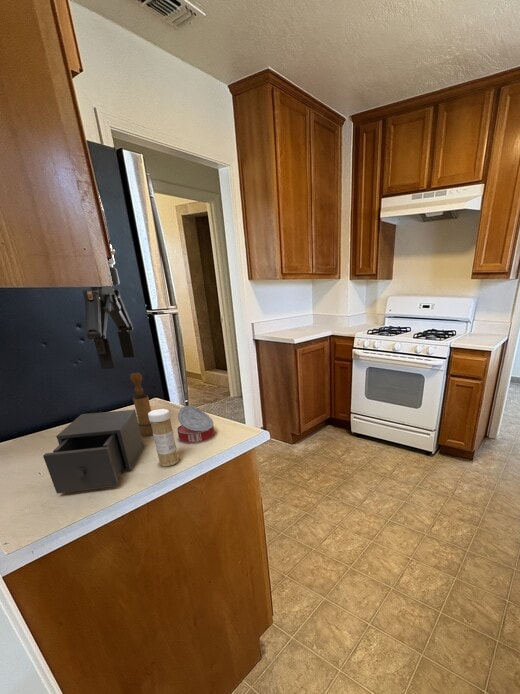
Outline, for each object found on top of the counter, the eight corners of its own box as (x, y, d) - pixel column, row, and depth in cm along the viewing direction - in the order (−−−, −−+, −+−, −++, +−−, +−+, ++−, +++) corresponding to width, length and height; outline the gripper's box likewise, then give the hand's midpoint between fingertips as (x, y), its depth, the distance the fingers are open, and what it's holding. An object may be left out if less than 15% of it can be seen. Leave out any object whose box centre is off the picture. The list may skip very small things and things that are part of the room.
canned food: (206, 443, 108) (218, 413, 108) (211, 452, 100) (223, 420, 99) (168, 432, 103) (180, 400, 102) (170, 441, 94) (182, 407, 93)
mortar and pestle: (135, 438, 101) (120, 376, 94) (136, 430, 107) (122, 371, 100) (160, 434, 104) (147, 374, 97) (160, 427, 109) (148, 369, 102)
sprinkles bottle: (172, 457, 90) (162, 407, 84) (183, 461, 87) (173, 410, 82) (155, 464, 86) (143, 412, 81) (166, 469, 84) (154, 416, 79)
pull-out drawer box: (115, 488, 74) (104, 451, 71) (54, 496, 72) (39, 458, 68) (132, 458, 87) (124, 425, 84) (81, 464, 85) (70, 430, 81)
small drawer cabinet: (130, 471, 83) (119, 429, 79) (70, 478, 80) (56, 436, 76) (143, 446, 96) (135, 409, 92) (92, 451, 93) (81, 414, 89)
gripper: (89, 262, 67) (116, 373, 75) (133, 268, 89) (151, 352, 98) (46, 262, 66) (78, 374, 74) (102, 268, 88) (122, 353, 97)
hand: (119, 362), depth 86 cm, fingers open, 13 cm apart
